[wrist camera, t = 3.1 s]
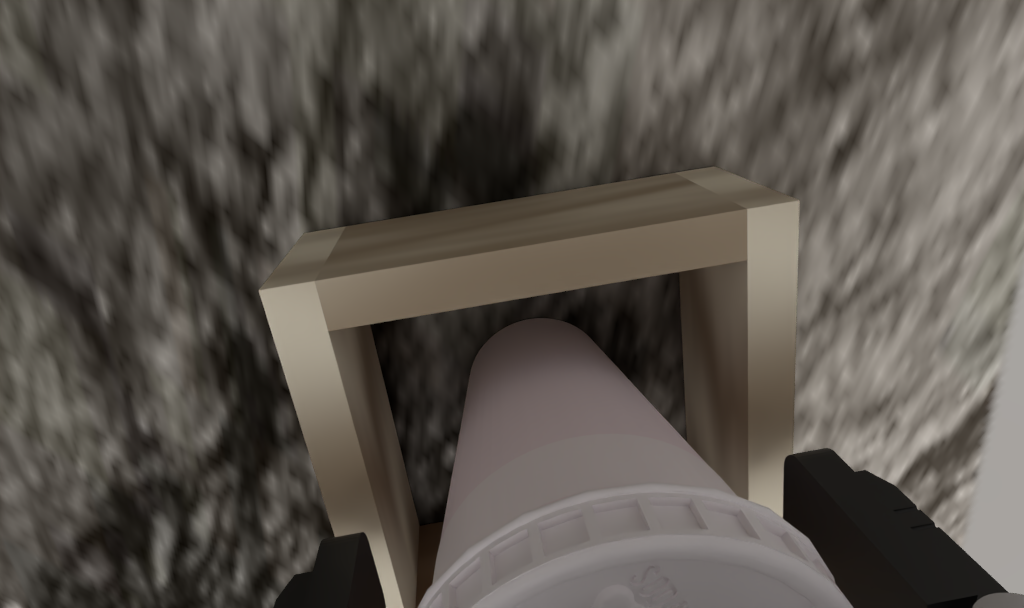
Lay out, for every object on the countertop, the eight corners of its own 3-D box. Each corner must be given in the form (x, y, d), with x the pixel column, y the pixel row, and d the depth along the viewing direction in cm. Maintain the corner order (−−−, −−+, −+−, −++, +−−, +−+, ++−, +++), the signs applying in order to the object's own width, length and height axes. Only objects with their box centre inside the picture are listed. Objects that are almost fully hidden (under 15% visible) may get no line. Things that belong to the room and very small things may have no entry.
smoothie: (373, 420, 17) (151, 1567, 4) (502, 220, 15) (814, 1064, 2) (566, 513, 19) (843, 1522, 6) (700, 342, 17) (1490, 1211, 4)
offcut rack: (303, 233, 15) (258, 290, 11) (714, 166, 16) (800, 200, 12) (461, 812, 23) (465, 956, 20) (728, 758, 24) (781, 889, 20)
